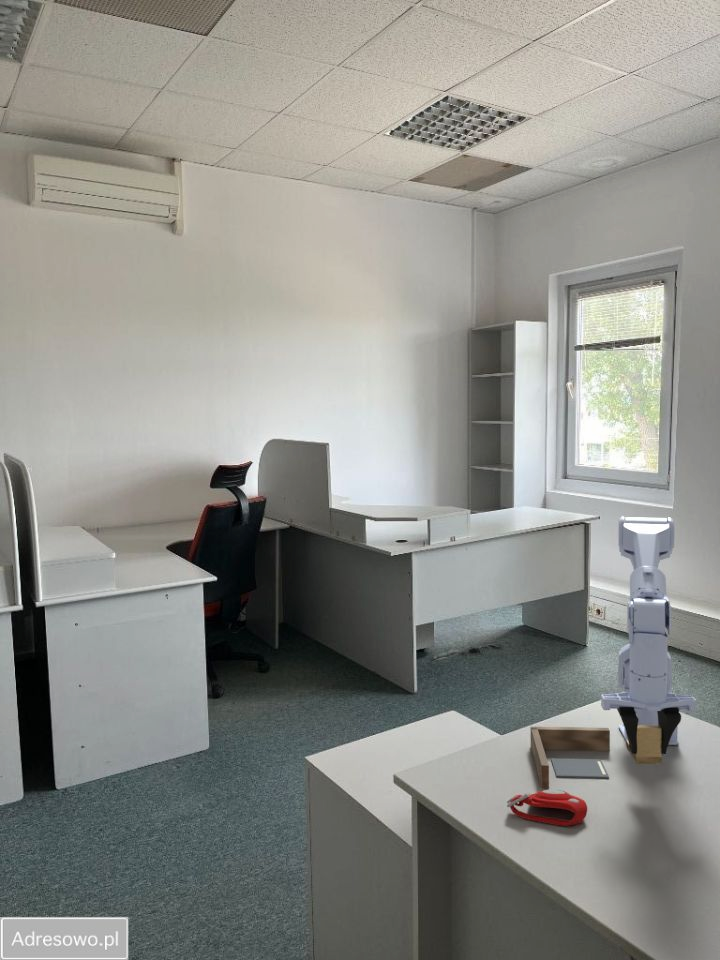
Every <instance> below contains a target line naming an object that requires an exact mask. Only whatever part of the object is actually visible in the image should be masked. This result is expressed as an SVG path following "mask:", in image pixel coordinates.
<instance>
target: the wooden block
mask: <svg viewBox="0 0 720 960" xmlns="http://www.w3.org/2000/svg"><path fill="white" fill-rule="evenodd" d="M625 741H626V742H625V747H626V749H627V751H628V752H629V754H630V756H631V757H632V759H633V760H634V763H635V764H637V765H662V761H663V759H662V757H663V754H662V728H661V727H660V726H659V725H638V727H637V754H633V753H632V752H631V750H630V749H629V742H628V740H626V739H625Z"/></svg>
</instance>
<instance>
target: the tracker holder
mask: <svg viewBox="0 0 720 960" xmlns="http://www.w3.org/2000/svg"><path fill="white" fill-rule="evenodd" d="M506 803H507V804H506V807H507V808H510V810H511V812H512V813H513V814H514V815H516V816H518V817H520V818H523V819H525V820H529V821H534V822H538V823H543V824H549V825H555V826H557V825H558V826H562V827H568V826H574V825H579V824H580V823H582V822H583V821H584V819H585V818H586V816H587V813H588V805H587V803H586V800H583V799H582V798H580V797H578V796H575V795H571V794H570V793H568V792H566V791H564V790H560V789H559V790H558V789H542V790H539V791H538V792H535V793H530V792H527V793H525V794H517V795H514V796H513V797H511V798H510V799H508V800H507V801H506ZM524 804H526V805H528V806H531V807H538V808H550V809H562V810H567V811H571V812H573V813H574V816H573V818H572V819H570V820H567V819H561V818H555V817H548V816H544V815H537V814H531V813H527V812H524V811H521V810H518V808H516V807H523V806H524ZM515 806H516V807H515Z"/></svg>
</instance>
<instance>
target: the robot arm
mask: <svg viewBox="0 0 720 960" xmlns="http://www.w3.org/2000/svg"><path fill="white" fill-rule="evenodd" d="M674 546H675V521H674V520H673V518H672V517H671V516H670V517H669V516H668V517H643V516H642V517H634V516H633V517H632V516H629V517H628V516H626V517H625V516H624V515H622V516H620V518H619V519H618V548H619V549H618V550H619V553H620V556H621V557H624V558H627V559H629V560H630V563H631V565H632V568H633V571H632V572H631V574H630V577H629V600H627V603H626V604H627V609H626V611H627V614H626V615H627V619H626V621H627V622H626V623H627V625H626V627H627V631H628V643H627V644H625V645H624V646H622V647H621V648H620V649H619V651H618V659H617V687H618V688H620V690H623V692H617V693H608V694H606V693H605V694H601V695H600V706H601V708H602V710H603V711H610V710H611V709H612V710H614V709H615V710H617V713H618V714H619V717H620V719H621V721H622V724H618V729H619V730H620V733H621V734H622V736H623V737H624V739H625V741H626V740H628V742H629V749H630V750H631V752H632V753H633V754H637V727H638V725H659V726H660V727H661V728H662V755H666V754H667V752H668V747H669V746H678V745H679V740H678V729H679V728H678V727H679V726H678V725H680V723H681V722H682V721H681V720H682V714H681V712H680V710H682V711H683V710H685V711H686V710H687V711H688V712H697V699H696V698H695V697H694V696H693V695H691V694H690V695H688V694H686V695H685V694H678V693H677V694H676V693H673V692H672V688H673V684H672V683H673V674H672V673H673V672H672V658H671V655H670V652H669V651H668V646H669V645H668V640H669V639H668V637H669V636H670V634H671V630H672V605H671V604H670V603H671V602H670V599H669V595H667V582H666V581H667V580H666V576H665V573H664V572H663V571H662V570H661V569H659V564H660V562H661V561H662V560H665V559H669V558H670V557H671V555H672V553H673V549H674V548H675V547H674ZM666 630H667V632H666Z"/></svg>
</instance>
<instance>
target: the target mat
mask: <svg viewBox="0 0 720 960" xmlns="http://www.w3.org/2000/svg"><path fill="white" fill-rule="evenodd" d="M550 760H551V764H552V767H553V770H554V773H555V776H556V778H575V779H576V778H578V779H579V778H580V779H610V775H609V774H608V772H607V769H606V767H605V765H604V762H603V760H602V759H596V758H594V759H592V758H591V759H590V758H587V759H586V758H553V757H552V758H550Z"/></svg>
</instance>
